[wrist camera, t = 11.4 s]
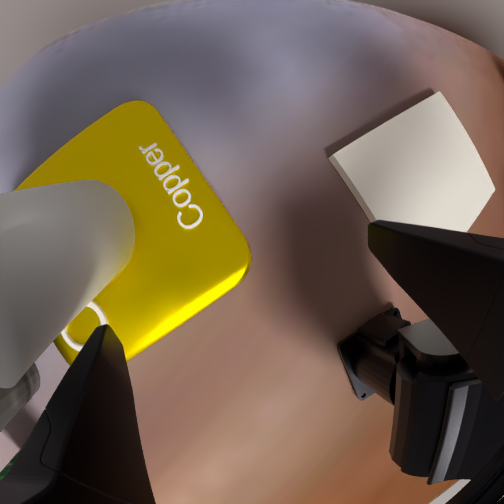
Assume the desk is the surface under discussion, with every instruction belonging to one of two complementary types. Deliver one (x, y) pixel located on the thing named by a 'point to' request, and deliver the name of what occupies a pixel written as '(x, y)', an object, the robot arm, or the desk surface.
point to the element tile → (150, 229)
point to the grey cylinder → (55, 263)
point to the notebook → (417, 169)
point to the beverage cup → (18, 395)
